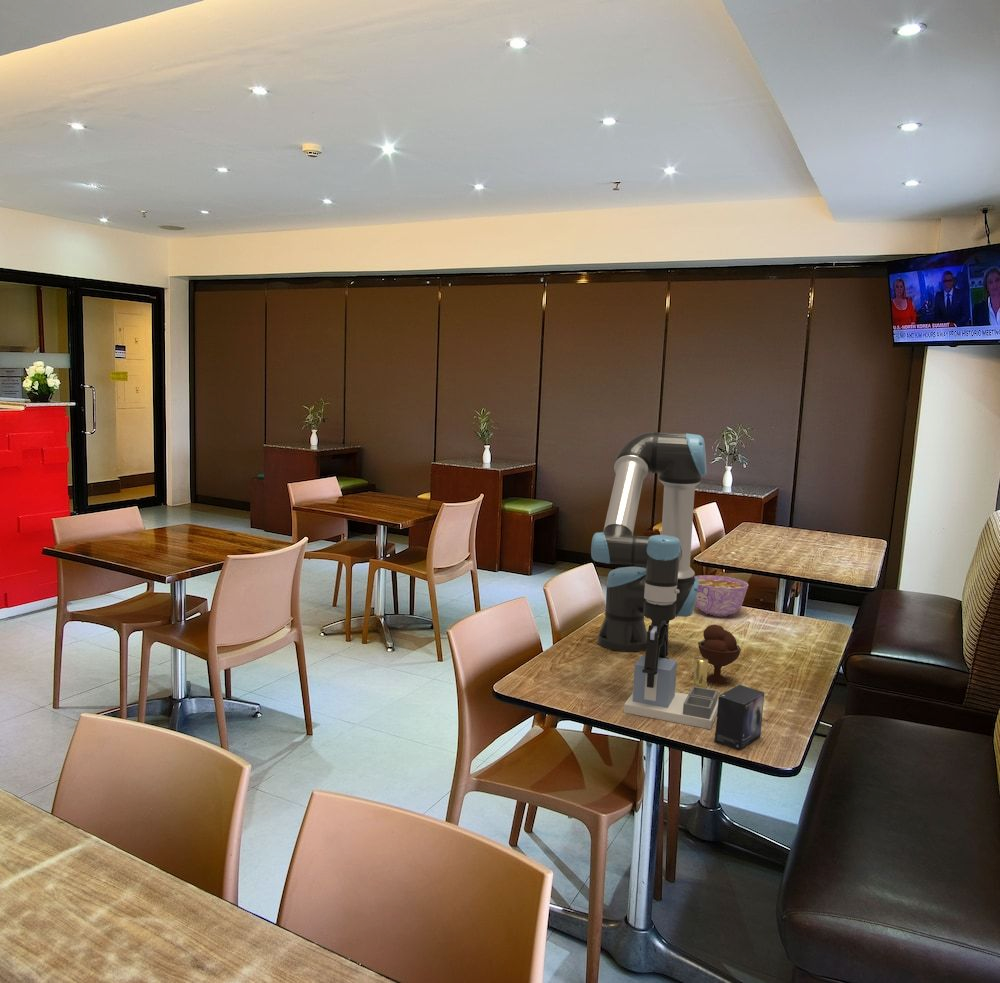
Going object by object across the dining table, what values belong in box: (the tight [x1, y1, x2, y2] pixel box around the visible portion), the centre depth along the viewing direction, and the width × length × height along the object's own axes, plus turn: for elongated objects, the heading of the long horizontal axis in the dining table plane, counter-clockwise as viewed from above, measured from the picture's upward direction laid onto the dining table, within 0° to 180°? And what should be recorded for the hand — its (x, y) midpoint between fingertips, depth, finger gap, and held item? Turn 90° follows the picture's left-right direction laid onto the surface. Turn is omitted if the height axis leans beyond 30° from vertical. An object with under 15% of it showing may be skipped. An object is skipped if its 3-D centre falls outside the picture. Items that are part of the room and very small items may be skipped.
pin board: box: [623, 685, 719, 730], centre depth 187 cm, size 20×14×9 cm
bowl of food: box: [694, 574, 749, 618], centre depth 277 cm, size 20×20×12 cm
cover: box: [632, 654, 678, 708], centre depth 189 cm, size 8×8×9 cm
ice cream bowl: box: [697, 624, 742, 685], centre depth 208 cm, size 11×11×15 cm
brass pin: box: [692, 656, 709, 689], centre depth 195 cm, size 3×3×10 cm
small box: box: [713, 684, 765, 750], centre depth 172 cm, size 11×6×10 cm, turn 138°
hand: (654, 693), depth 189 cm, fingers closed on cover, 8 cm apart
